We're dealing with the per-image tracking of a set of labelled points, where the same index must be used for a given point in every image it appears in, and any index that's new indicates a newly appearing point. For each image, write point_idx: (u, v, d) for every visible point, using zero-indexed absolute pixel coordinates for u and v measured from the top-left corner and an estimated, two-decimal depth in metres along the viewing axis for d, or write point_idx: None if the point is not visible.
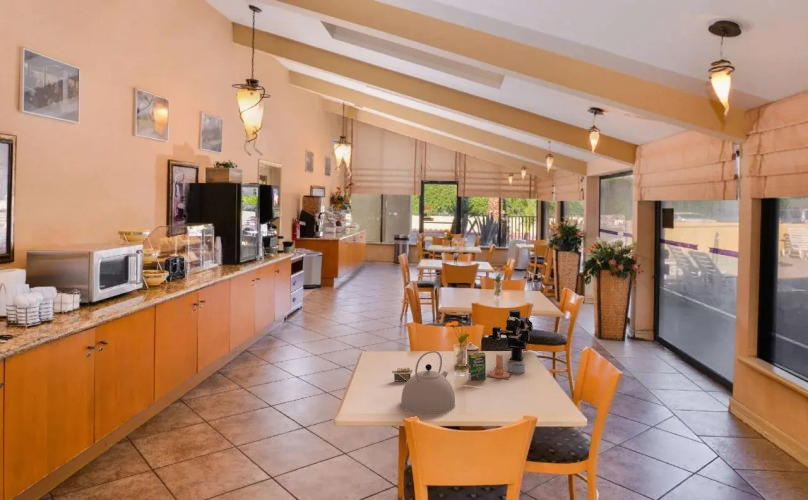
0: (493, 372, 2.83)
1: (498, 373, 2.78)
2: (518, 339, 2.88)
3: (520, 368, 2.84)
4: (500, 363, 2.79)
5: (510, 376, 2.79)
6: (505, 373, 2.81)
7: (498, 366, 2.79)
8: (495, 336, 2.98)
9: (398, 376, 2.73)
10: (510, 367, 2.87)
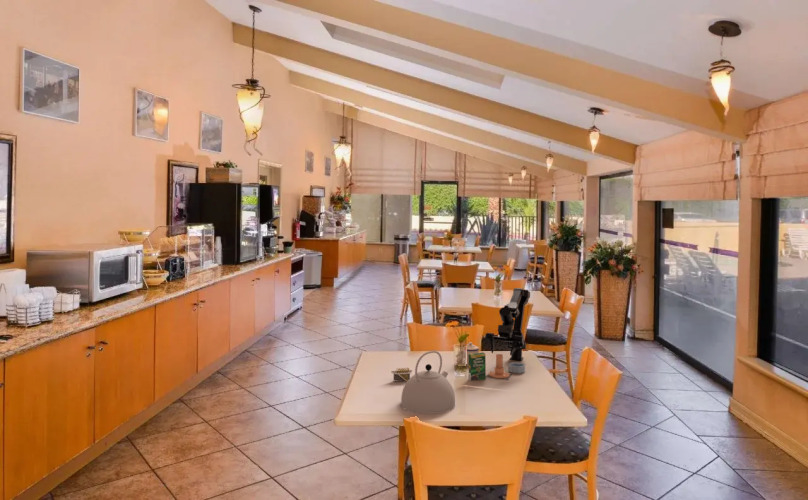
0: (493, 372, 2.83)
1: (498, 373, 2.78)
2: (512, 352, 2.82)
3: (520, 368, 2.84)
4: (500, 363, 2.79)
5: (510, 376, 2.79)
6: (505, 373, 2.81)
7: (498, 366, 2.79)
8: (489, 342, 2.91)
9: (397, 376, 2.73)
10: (510, 367, 2.87)
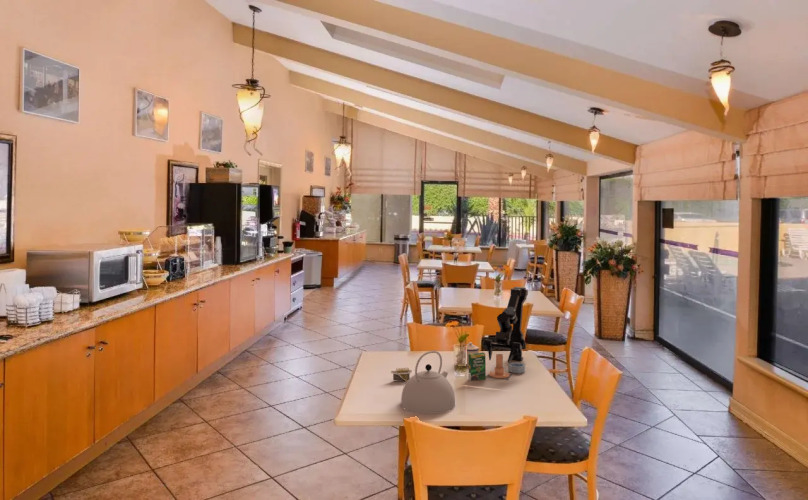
0: (493, 372, 2.83)
1: (498, 373, 2.78)
2: (510, 359, 2.78)
3: (520, 368, 2.84)
4: (500, 363, 2.79)
5: (510, 376, 2.79)
6: (505, 373, 2.81)
7: (498, 366, 2.79)
8: (487, 349, 2.87)
9: (397, 376, 2.73)
10: (510, 367, 2.87)
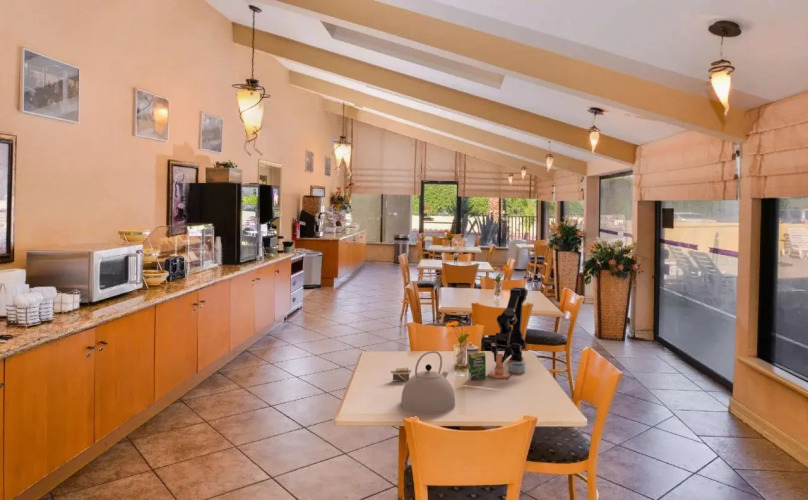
0: (493, 372, 2.83)
1: (498, 373, 2.78)
2: (504, 360, 2.79)
3: (520, 368, 2.84)
4: (500, 363, 2.79)
5: (510, 376, 2.79)
6: (505, 373, 2.81)
7: (498, 366, 2.79)
8: (492, 351, 2.85)
9: (397, 376, 2.73)
10: (510, 367, 2.87)
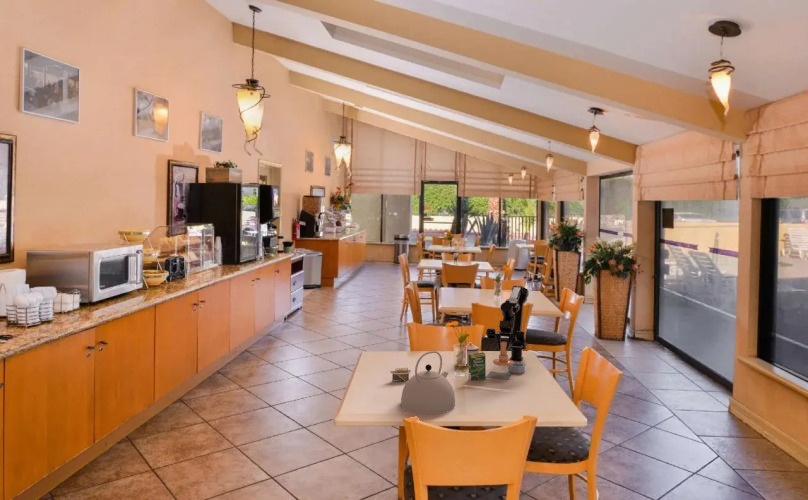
0: (497, 360, 2.84)
1: (502, 360, 2.79)
2: (508, 347, 2.80)
3: (520, 368, 2.84)
4: (504, 350, 2.80)
5: (510, 376, 2.79)
6: (509, 360, 2.83)
7: (502, 353, 2.80)
8: (496, 338, 2.86)
9: (396, 376, 2.73)
10: (510, 367, 2.87)
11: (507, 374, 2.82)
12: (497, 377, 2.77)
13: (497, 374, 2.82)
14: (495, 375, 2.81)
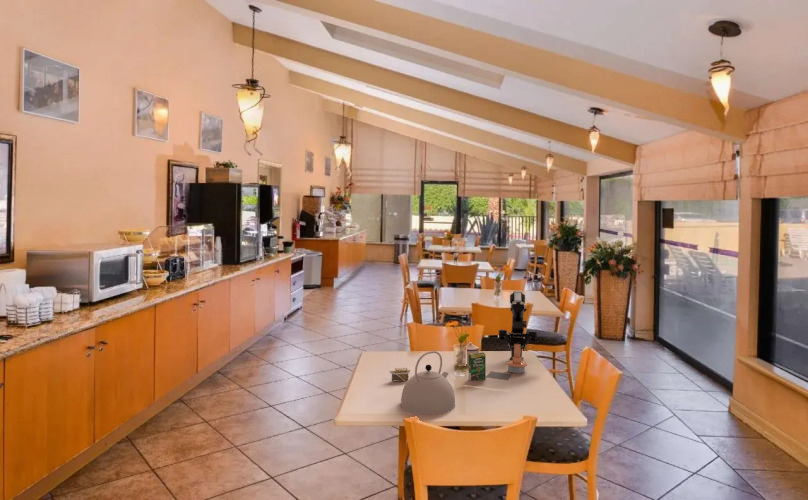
0: (510, 362, 2.90)
1: (517, 362, 2.86)
2: (525, 347, 2.87)
3: (520, 368, 2.84)
4: (519, 352, 2.86)
5: (510, 376, 2.79)
6: (522, 362, 2.90)
7: (517, 355, 2.86)
8: (505, 339, 2.92)
9: (396, 376, 2.73)
10: (510, 367, 2.87)
11: (507, 374, 2.82)
12: (497, 377, 2.77)
13: (497, 374, 2.82)
14: (495, 375, 2.81)
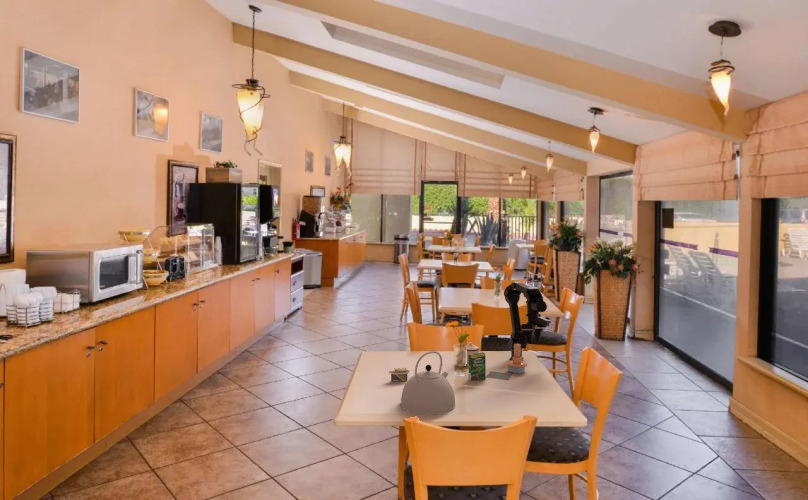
0: (510, 362, 2.90)
1: (517, 362, 2.86)
2: None
3: (520, 368, 2.84)
4: (519, 352, 2.86)
5: (510, 376, 2.79)
6: (522, 362, 2.90)
7: (517, 355, 2.86)
8: (525, 331, 2.87)
9: (395, 376, 2.72)
10: (510, 367, 2.87)
11: (507, 374, 2.82)
12: (497, 377, 2.77)
13: (497, 374, 2.82)
14: (495, 375, 2.81)
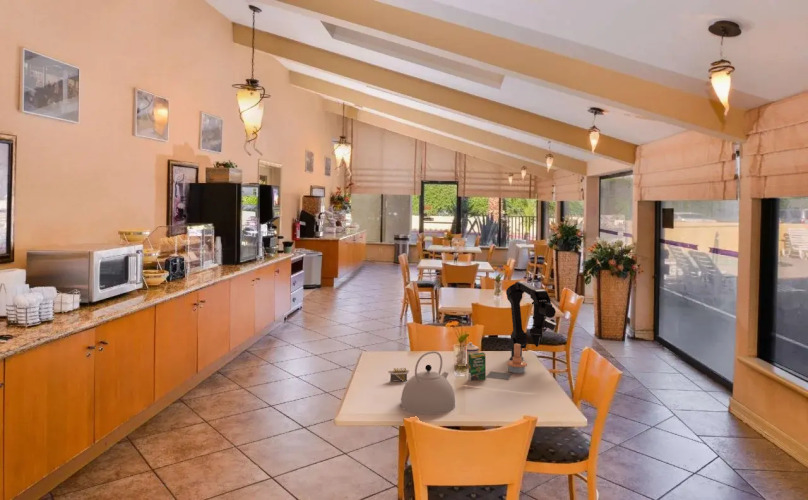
0: (510, 362, 2.90)
1: (517, 362, 2.86)
2: None
3: (520, 368, 2.84)
4: (519, 352, 2.86)
5: (510, 376, 2.79)
6: (522, 362, 2.90)
7: (517, 355, 2.86)
8: None
9: (394, 376, 2.72)
10: (510, 367, 2.87)
11: (507, 374, 2.82)
12: (497, 377, 2.77)
13: (497, 374, 2.82)
14: (495, 375, 2.81)
